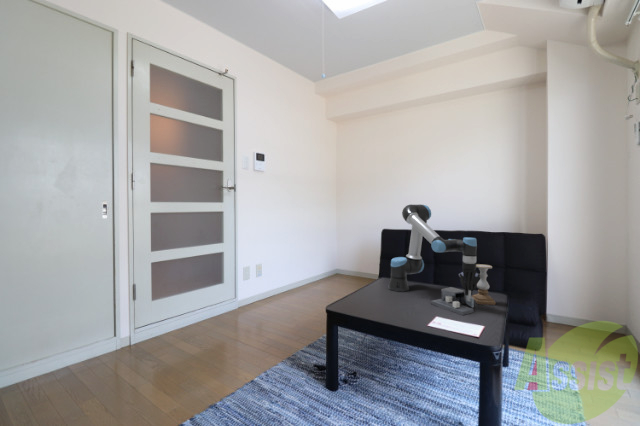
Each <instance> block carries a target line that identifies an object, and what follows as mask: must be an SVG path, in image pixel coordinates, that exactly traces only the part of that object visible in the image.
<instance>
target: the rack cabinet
mask: <svg viewBox="0 0 640 426" xmlns="http://www.w3.org/2000/svg"><path fill="white" fill-rule="evenodd" d="M440 292H441V293H440V297H441V298H440V299H444V300H446V296H451V297H452V302H454V301H458V302H460V305H463V304H466V303H465V289H460V288H456V287H453V286H450V287H444V288H441V290H440Z"/></svg>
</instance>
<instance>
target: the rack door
mask: <svg viewBox="0 0 640 426" xmlns="http://www.w3.org/2000/svg"><path fill="white" fill-rule="evenodd" d="M464 304H466V305H468V307H470V308H474V307H475V306H474V304H477V303H476V301H475V300H474V298H472V297H471V301H467V300H466V295H465V303H464Z"/></svg>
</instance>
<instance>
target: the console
mask: <svg viewBox="0 0 640 426" xmlns="http://www.w3.org/2000/svg"><path fill="white" fill-rule="evenodd" d="M430 304H431V305H432V306H436V307H439V308H441V309H444V310H447V311H450V312H452V313H456V314H458V315H461V316H464V315H468V314H472V313H474V308H473V307H470V306H465V305H463V304H460V307H458V308H455V307H453V302H446V300H444V299H441V298H438V299H434V300H430Z"/></svg>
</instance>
